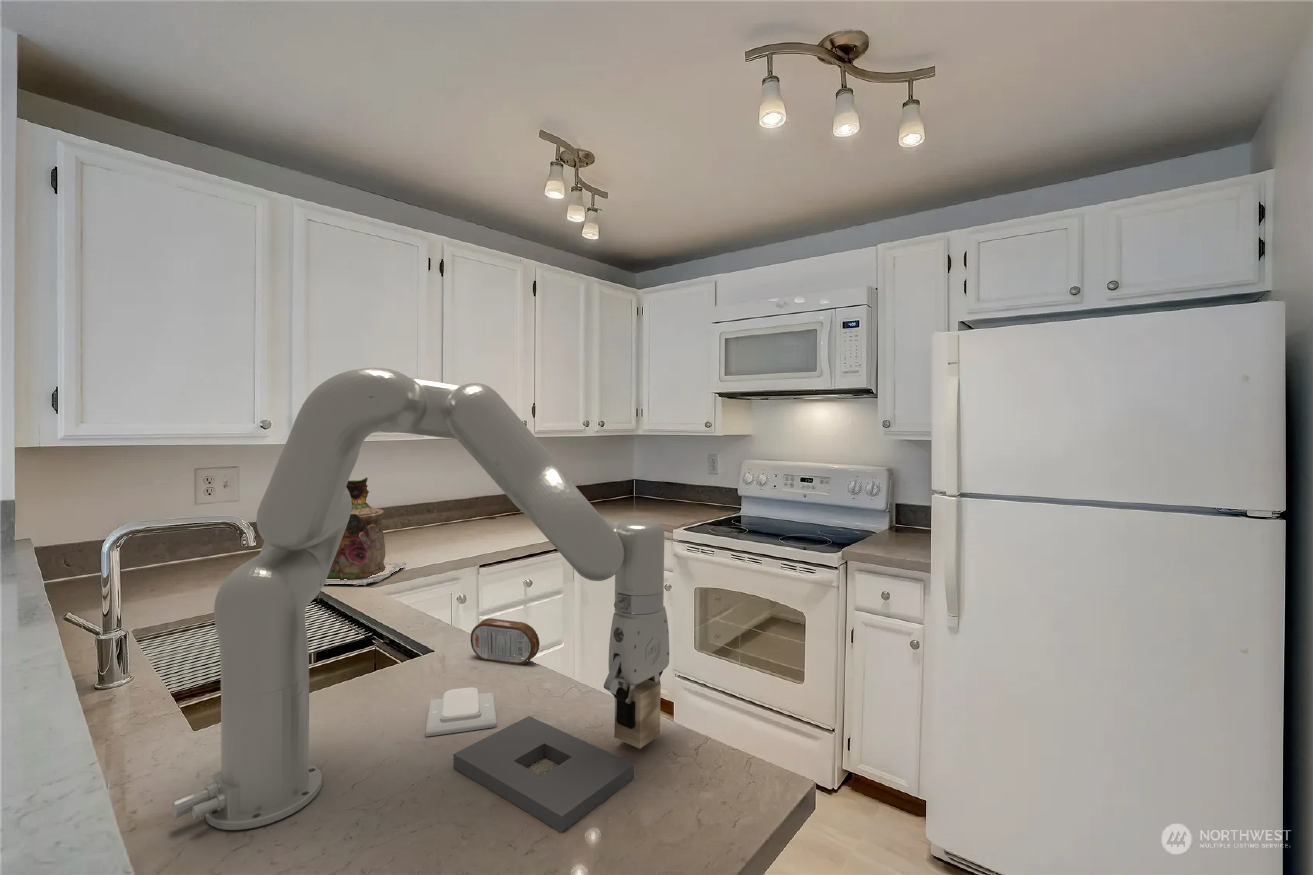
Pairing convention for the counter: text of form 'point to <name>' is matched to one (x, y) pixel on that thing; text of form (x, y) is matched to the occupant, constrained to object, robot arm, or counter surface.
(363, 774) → the counter surface
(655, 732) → the beige rectangular block
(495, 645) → the tin
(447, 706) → the light switch
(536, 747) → the grey plate with hole
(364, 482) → the cookie jar
